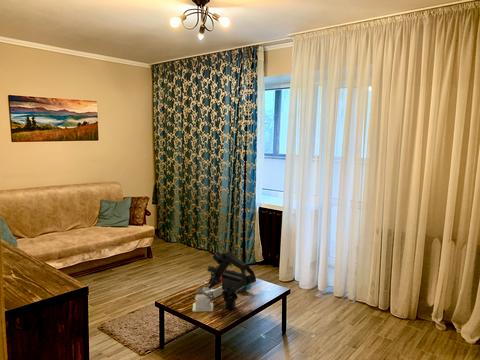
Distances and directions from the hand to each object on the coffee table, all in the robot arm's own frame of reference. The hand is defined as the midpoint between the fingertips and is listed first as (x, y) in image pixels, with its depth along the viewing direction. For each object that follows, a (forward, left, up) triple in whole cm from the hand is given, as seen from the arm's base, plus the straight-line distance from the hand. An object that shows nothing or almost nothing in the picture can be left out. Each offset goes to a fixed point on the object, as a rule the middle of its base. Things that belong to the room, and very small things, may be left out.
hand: (209, 286), depth 249 cm
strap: (+2, +3, -5) cm, 6 cm away
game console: (+1, -33, -16) cm, 37 cm away
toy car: (+13, -16, -16) cm, 26 cm away
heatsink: (+3, +3, -15) cm, 16 cm away
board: (+3, +3, -15) cm, 16 cm away
